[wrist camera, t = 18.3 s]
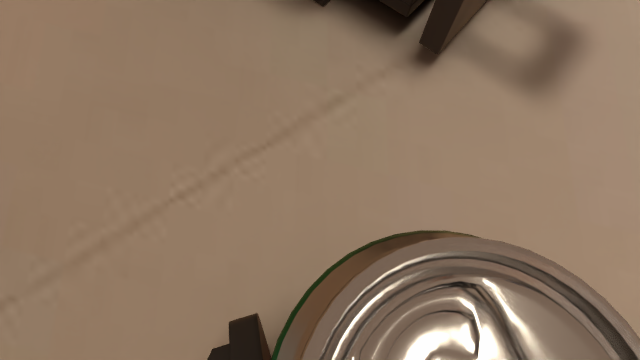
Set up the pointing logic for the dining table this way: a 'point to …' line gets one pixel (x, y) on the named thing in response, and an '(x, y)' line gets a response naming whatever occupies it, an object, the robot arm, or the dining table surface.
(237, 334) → the robot arm
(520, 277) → the soda can
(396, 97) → the dining table surface
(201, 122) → the dining table surface
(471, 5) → the drawer
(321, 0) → the black box
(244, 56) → the dining table surface
